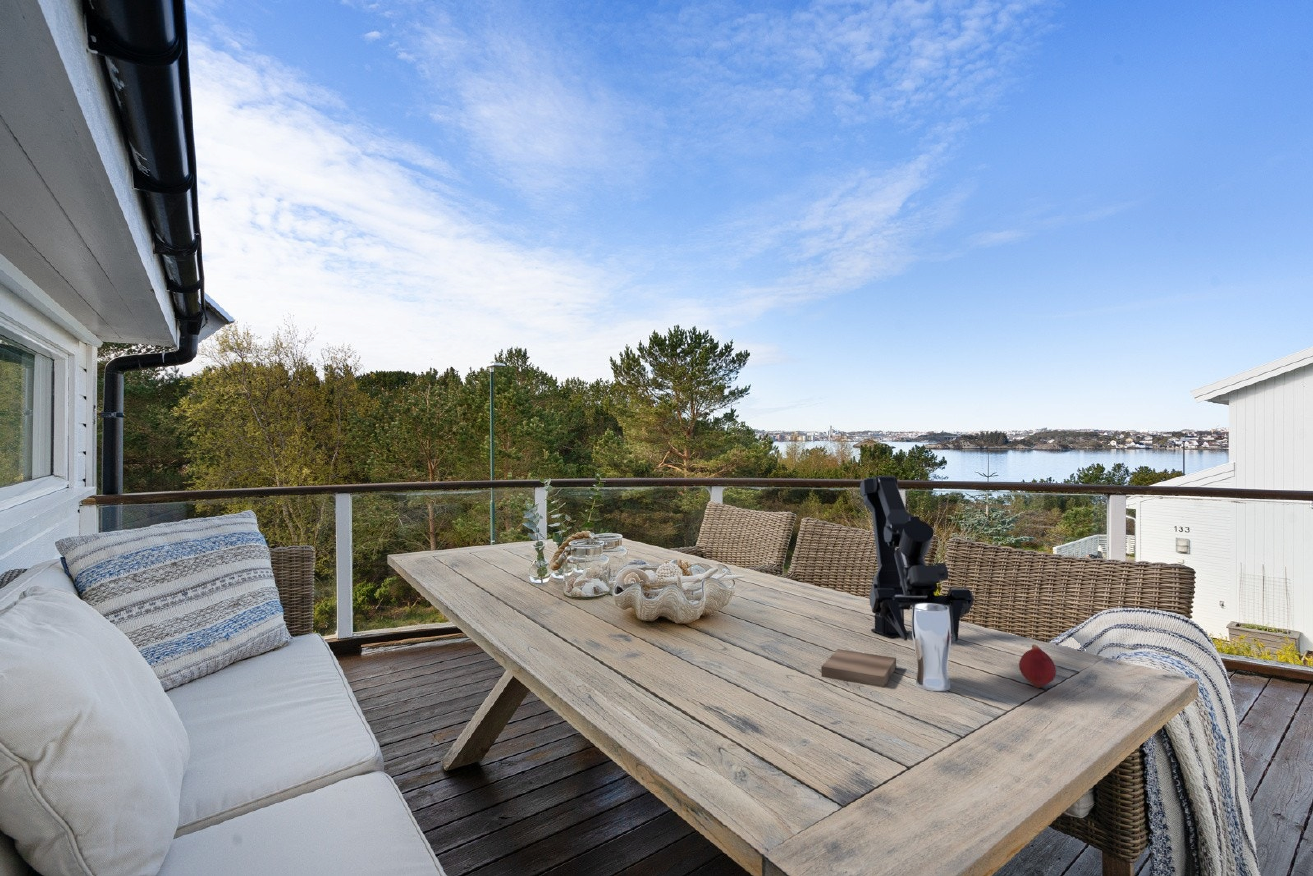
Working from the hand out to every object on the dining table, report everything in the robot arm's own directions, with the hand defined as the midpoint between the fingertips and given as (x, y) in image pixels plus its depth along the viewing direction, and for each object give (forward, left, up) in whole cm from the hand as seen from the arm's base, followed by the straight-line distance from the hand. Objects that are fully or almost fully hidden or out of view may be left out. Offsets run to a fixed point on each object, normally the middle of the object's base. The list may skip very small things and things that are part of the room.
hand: (931, 640), depth 119 cm
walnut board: (+7, -12, -8) cm, 16 cm away
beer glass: (0, 0, -9) cm, 9 cm away
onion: (-16, +10, -9) cm, 21 cm away
